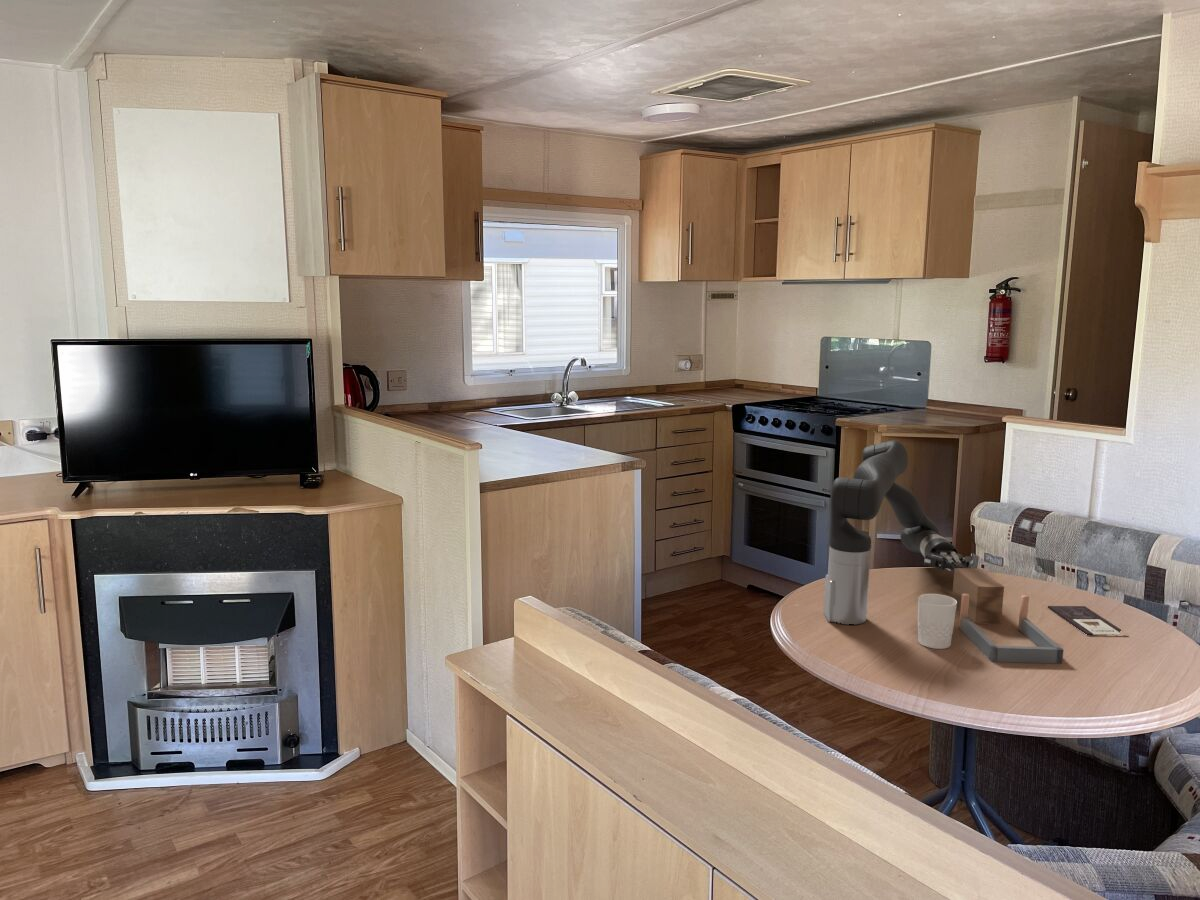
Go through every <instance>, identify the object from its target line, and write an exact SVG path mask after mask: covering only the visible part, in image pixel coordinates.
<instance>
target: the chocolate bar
mask: <svg viewBox="0 0 1200 900" xmlns="http://www.w3.org/2000/svg"><path fill="white" fill-rule="evenodd" d="M1047 609H1048V610H1049V611H1052V612H1053V613H1054V614H1055V615H1057V616H1058V617H1060V618H1061V619H1063V621H1065V620H1066V621H1065V622H1067V623H1068V622H1069V623H1068V624H1070V625H1071V624H1072V625H1073V627H1074V626H1075V627H1076V628H1075V627H1074V628H1075V629H1077V628H1078V629H1079V630H1081V631H1082V632H1084V633H1085V634H1087V635H1107V634H1112V635H1114V634H1120V631H1121V630H1122V629H1120V628H1119V627H1118V626H1116V625H1114V624H1113V623H1112V622H1111V621H1108V620H1107V619H1105V618H1103V616H1101V615H1099V614H1097V613H1096V612H1095V611H1093V610H1092V609H1090V608H1089V607H1087V606H1085V605H1080V606H1079V605H1047ZM1072 625H1071V626H1072ZM1078 629H1077V630H1078ZM1079 630H1078V631H1079ZM1081 631H1080V632H1081ZM1082 632H1081V633H1082ZM1084 633H1083V634H1084ZM1085 634H1084V635H1085Z"/></svg>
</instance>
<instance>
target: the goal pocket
mask: <svg viewBox="0 0 1200 900" xmlns="http://www.w3.org/2000/svg"><path fill="white" fill-rule="evenodd" d="M969 596H970V595H969V594H962V600H961V611H960V614H959V626H958V628H959V629H960V630H961V631H962V632H963V633H964V634H965V635H966V636H967V637H968V638H969V639H970V640H971V642H972V643H973V644H974V645H975V646H976V648H978V650H980V651H981V652H982V653H983V654H984V655H985V657H986V658H987V659H988V660H989V661H990V662H995V663H1000V662H1001V663H1030V664H1031V663H1032V664H1035V663H1036V664H1063V660H1064V659H1063V658H1064V649H1063V648H1062V647H1061V646H1060V645H1059V644H1057V643H1056V642H1055V641H1054V640H1053V639H1052V638H1050V637H1049V636H1048V635H1047V634H1046V633H1045V632H1043V630H1041V629H1040V628H1039V627H1038V626H1037V625H1035V623H1034V622H1032V621H1031V620H1030V619H1028V615H1029V614H1028V611H1029V601H1030V595H1027V594H1022V595H1021V599H1020V606H1019V607H1020V608H1019V617H1018V627H1017V630H1018V631H1019V632H1021V633H1022V634H1023V635H1025V637H1027V638H1028V640H1030V641H1031V642H1032V643H1033V644H1034V645H1035V646H1021V645H1019V646H1018V645H1015V646H1014V645H996V644H995V643H994V642H993V640H991V639H990V638H989V637H988V636H987V635H986V634H985V633H984V632H983V631H982V630H981V629H980V628H979V627H978V626H977V625H976V624H975V623H974V622H973V621H971V620H970V619H969V618H968V608H969Z"/></svg>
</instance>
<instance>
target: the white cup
mask: <svg viewBox="0 0 1200 900" xmlns="http://www.w3.org/2000/svg"><path fill="white" fill-rule="evenodd" d="M956 612H957V601H956V600H955V599H954V598H952V596H949V595H945V594H939V593H923V594H920V595H918V597H917V643H918V644H920V645H921V646H923V647H926V648H929V649H936V650H945V649H948V648H950V647H951V645H952V635H953V633H954V628H955V627H954V626H955V621H956Z"/></svg>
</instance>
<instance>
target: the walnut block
mask: <svg viewBox="0 0 1200 900" xmlns="http://www.w3.org/2000/svg"><path fill="white" fill-rule="evenodd" d="M1004 593H1005V586H1003V585H1002V584H1001V583H1000V582H999V581H997V580H996V579H995V578H993V577H992V576H991V575H989V574H988V573H986V572H985V571H983V570H982V569H981V568H977V567H975V568H974V567H970V568H955V570H954V572H953V584H952V595H951V597H952V598H954V599H955V600H956V601H957V607H956V609H958V610H959V609H960V610H961V600H962V594H969V595H970V596H969V608H968V618H969V619H970V620H972V622H973V623H974V624H975V623H991V624H993V625H994V624H995V625H1000V624H1002V615H1003V604H1004V603H1003V602H1004ZM960 610H959V611H960Z"/></svg>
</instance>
